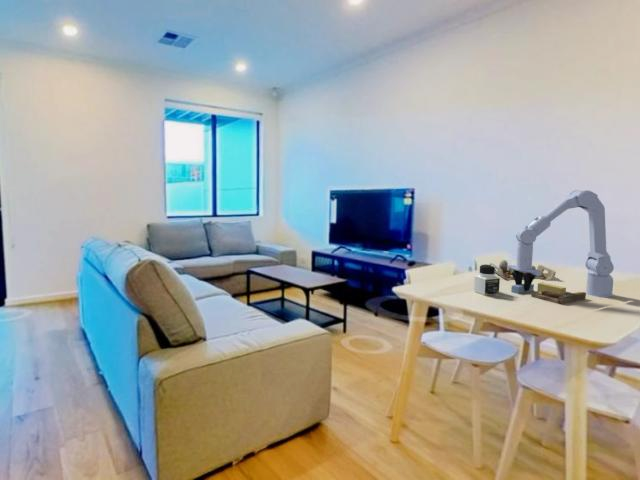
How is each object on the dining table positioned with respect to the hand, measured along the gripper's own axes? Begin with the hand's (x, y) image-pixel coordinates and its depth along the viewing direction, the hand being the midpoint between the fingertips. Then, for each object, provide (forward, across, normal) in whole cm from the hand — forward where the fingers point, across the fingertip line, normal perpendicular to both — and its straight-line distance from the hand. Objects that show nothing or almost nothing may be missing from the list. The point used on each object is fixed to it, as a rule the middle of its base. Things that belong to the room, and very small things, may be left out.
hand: (522, 289), depth 165 cm
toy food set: (+2, -21, +28) cm, 35 cm away
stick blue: (+2, 0, 0) cm, 2 cm away
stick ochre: (+1, +8, +7) cm, 11 cm away
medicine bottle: (+2, -7, -14) cm, 15 cm away
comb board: (+1, +13, +4) cm, 14 cm away
